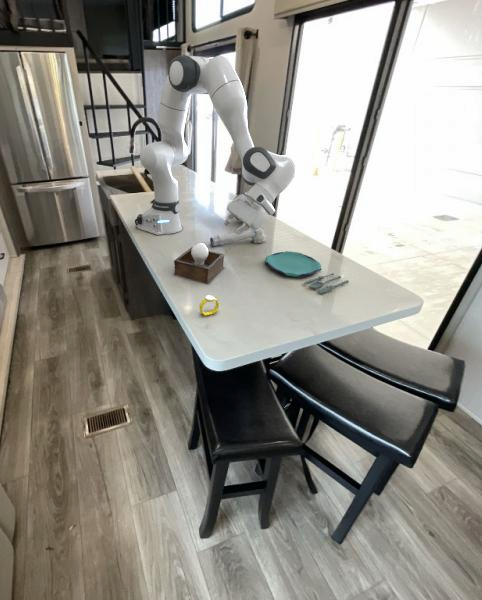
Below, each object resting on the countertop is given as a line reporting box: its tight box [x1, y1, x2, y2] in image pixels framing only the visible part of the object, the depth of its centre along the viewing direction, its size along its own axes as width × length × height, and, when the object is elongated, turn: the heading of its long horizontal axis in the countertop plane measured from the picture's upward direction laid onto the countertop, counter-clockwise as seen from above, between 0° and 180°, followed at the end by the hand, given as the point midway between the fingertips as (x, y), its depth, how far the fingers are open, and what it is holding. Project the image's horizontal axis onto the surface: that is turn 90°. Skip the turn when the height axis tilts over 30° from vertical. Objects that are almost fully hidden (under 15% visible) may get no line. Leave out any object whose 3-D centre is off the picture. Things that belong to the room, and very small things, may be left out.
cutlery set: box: [264, 250, 350, 294], centre depth 119 cm, size 20×30×2 cm, turn 28°
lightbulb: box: [191, 243, 210, 267], centre depth 116 cm, size 6×6×11 cm
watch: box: [198, 294, 220, 316], centre depth 95 cm, size 6×3×6 cm, turn 114°
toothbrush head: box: [209, 227, 267, 248], centre depth 141 cm, size 5×7×25 cm
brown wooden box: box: [173, 246, 225, 285], centre depth 118 cm, size 14×14×6 cm
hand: (230, 229), depth 114 cm, fingers open, 8 cm apart
